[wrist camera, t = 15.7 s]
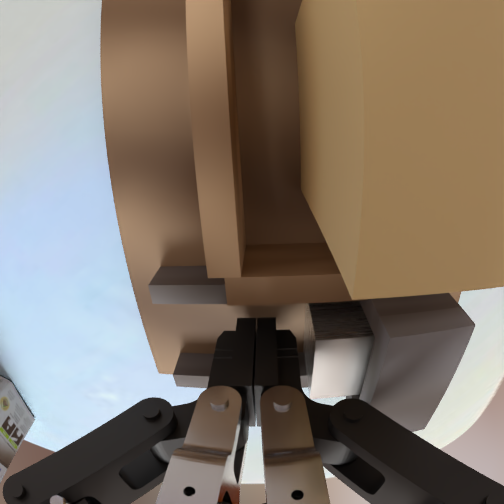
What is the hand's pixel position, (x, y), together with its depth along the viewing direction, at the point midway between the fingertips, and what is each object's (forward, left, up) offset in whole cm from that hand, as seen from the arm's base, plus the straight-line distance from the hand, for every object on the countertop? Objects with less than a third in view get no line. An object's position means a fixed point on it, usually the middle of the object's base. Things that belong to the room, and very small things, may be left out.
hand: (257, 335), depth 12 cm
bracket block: (-8, +4, -1) cm, 9 cm away
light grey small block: (0, +5, -1) cm, 5 cm away
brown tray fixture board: (-6, +2, -2) cm, 7 cm away
